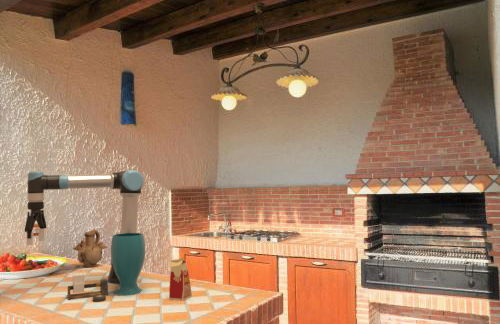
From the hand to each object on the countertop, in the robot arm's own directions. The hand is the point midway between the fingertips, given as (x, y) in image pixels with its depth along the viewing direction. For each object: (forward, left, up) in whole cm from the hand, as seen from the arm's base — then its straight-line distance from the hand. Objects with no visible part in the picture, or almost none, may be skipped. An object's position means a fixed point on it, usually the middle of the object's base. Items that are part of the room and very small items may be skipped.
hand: (35, 243), depth 229 cm
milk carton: (-64, +39, -28) cm, 79 cm away
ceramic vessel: (-34, -72, -28) cm, 85 cm away
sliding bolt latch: (-24, +12, -27) cm, 38 cm away
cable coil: (-28, +24, -27) cm, 46 cm away
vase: (-44, +14, -28) cm, 54 cm away
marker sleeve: (-19, +11, -25) cm, 33 cm away
